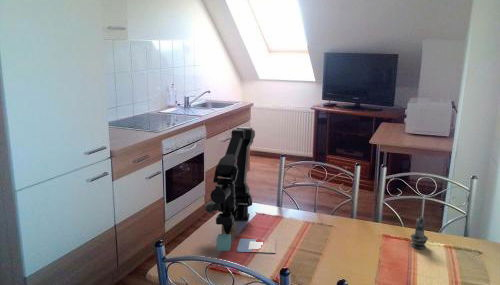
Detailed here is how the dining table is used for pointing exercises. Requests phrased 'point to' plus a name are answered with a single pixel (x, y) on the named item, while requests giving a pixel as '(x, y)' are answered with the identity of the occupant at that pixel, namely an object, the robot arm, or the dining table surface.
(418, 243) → the dark grey flanged nozzle
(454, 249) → the dining table surface
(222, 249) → the teal cube
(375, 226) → the dining table surface
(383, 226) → the dining table surface
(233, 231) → the walnut cube
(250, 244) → the blueprint mat
